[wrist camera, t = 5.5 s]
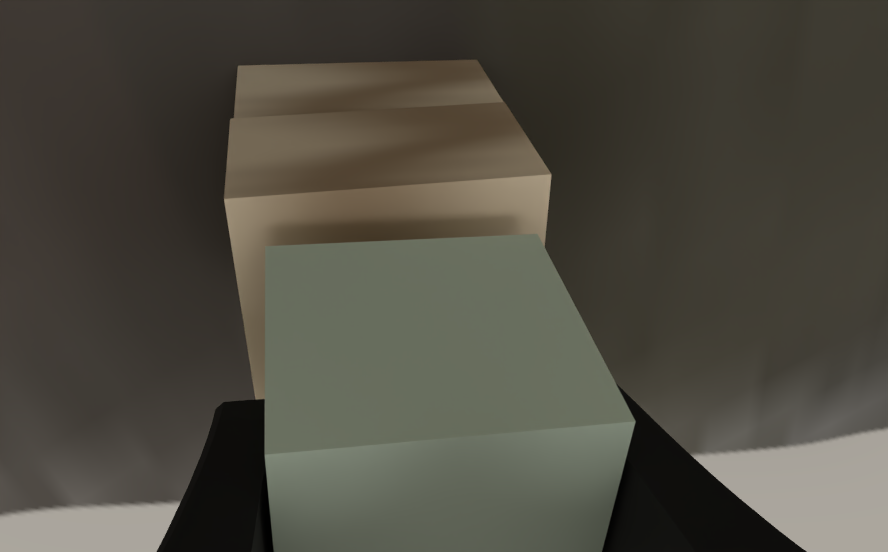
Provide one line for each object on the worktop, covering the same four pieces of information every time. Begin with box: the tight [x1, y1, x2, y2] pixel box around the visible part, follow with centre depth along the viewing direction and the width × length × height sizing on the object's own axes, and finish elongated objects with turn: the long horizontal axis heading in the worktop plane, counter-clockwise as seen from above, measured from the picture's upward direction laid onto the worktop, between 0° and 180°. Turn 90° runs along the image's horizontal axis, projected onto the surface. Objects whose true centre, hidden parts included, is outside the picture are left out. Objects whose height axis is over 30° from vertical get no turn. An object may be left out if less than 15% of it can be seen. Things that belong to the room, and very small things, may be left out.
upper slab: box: [224, 102, 551, 400], centre depth 15 cm, size 5×5×3 cm
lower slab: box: [234, 60, 503, 118], centre depth 17 cm, size 5×5×3 cm
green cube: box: [265, 234, 636, 552], centre depth 11 cm, size 4×4×4 cm
